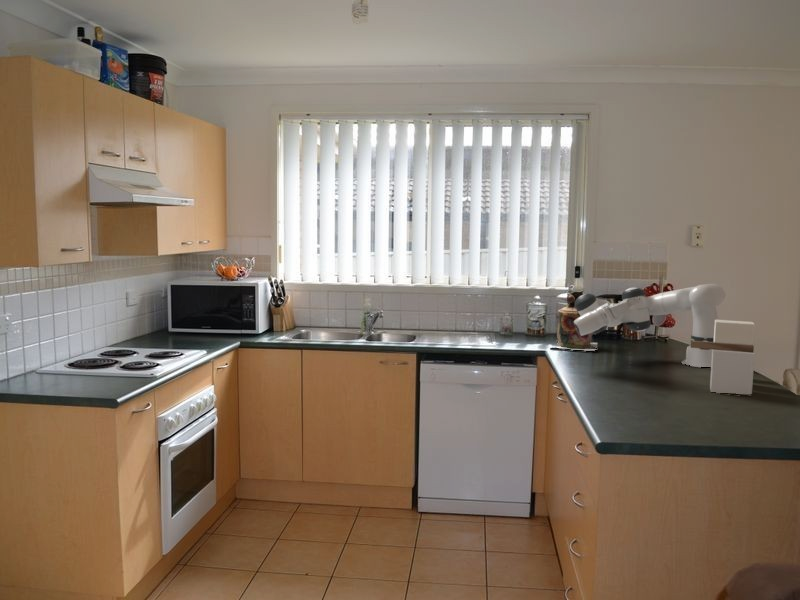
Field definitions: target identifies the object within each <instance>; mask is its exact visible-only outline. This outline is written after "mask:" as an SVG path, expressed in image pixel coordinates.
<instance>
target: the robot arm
mask: <svg viewBox="0 0 800 600" xmlns="http://www.w3.org/2000/svg"><path fill="white" fill-rule="evenodd" d="M646 295H649V294H648V292H645V291H644V290H643V289H642V288H640V287H629V288H627V289H625V290H623V291H622V293H621V300H622V301H619V302H618V303H614V302H613V303H611V302H610V301H608V300H607V299H606V298H604V297H602V296H596V295H595V294H593V293H585V294H583V295H581V296H580V297H578V298H577V299H576V301H575V305H574V306H575V308H576V309H577V311H578V312H579V314H580V317H579V318H577V319H576V320H575V321H574V326H575V328H576V330H577V332H578V333H579V335H581V336H583V335H586V334H589V333H592V335H597V334H598V333H600V332H603V331H607V329H608V328H612V327H613V328H614V327H617V326H619V325H621V324H623V323H624V325H623V326H625V327H627V328H628V329H629V330H630V331H632V332H638V333H641V332H644V331H646V330H648V329H650V327H651V323H652V322H651V321H652V320H651V318H650V316H665V315H672V314H679V313H684V312H689V311H691V312H692V313H691V314H692V332H691V333H692V335H691V336H690V341H691V340H692V341H706V342H713V341H714V326H715V320H719V318H718V311H717V306H719V305H720V304H722V303H723V302H724V300H725V299H726V292H725V289H724V288H723V287H722V286H720V285H718V284H716V283H706V284H703V283H702V284H698V285H696V286H692V287H691V286H689V287H685V288H680V289H674V290H670V291H664V292H660V293H657V294H654V295H650V296H646ZM689 344H690V345H688V346H687V347H686V350H685V359H684V360H682V361H681V363H682V364H681V365H685V364H686V365H687V366H689V365H690V367H694V368H701V367H711V363H712V349H702V348H691V343H689Z"/></svg>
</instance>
